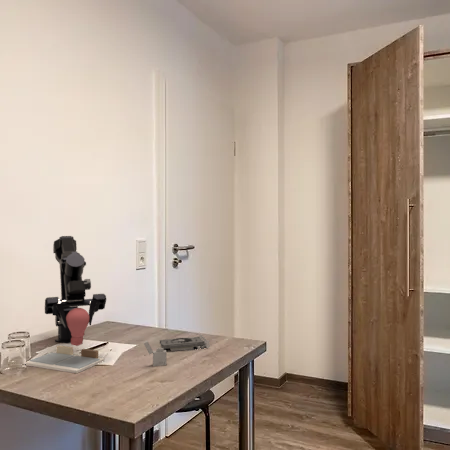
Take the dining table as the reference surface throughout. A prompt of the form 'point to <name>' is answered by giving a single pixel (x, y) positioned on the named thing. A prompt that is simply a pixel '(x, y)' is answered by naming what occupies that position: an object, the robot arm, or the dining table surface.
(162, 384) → the dining table surface
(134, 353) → the dining table surface
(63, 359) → the board
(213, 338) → the dining table surface
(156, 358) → the lighter
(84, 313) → the light bulb
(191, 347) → the graphics card
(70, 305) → the robot arm
